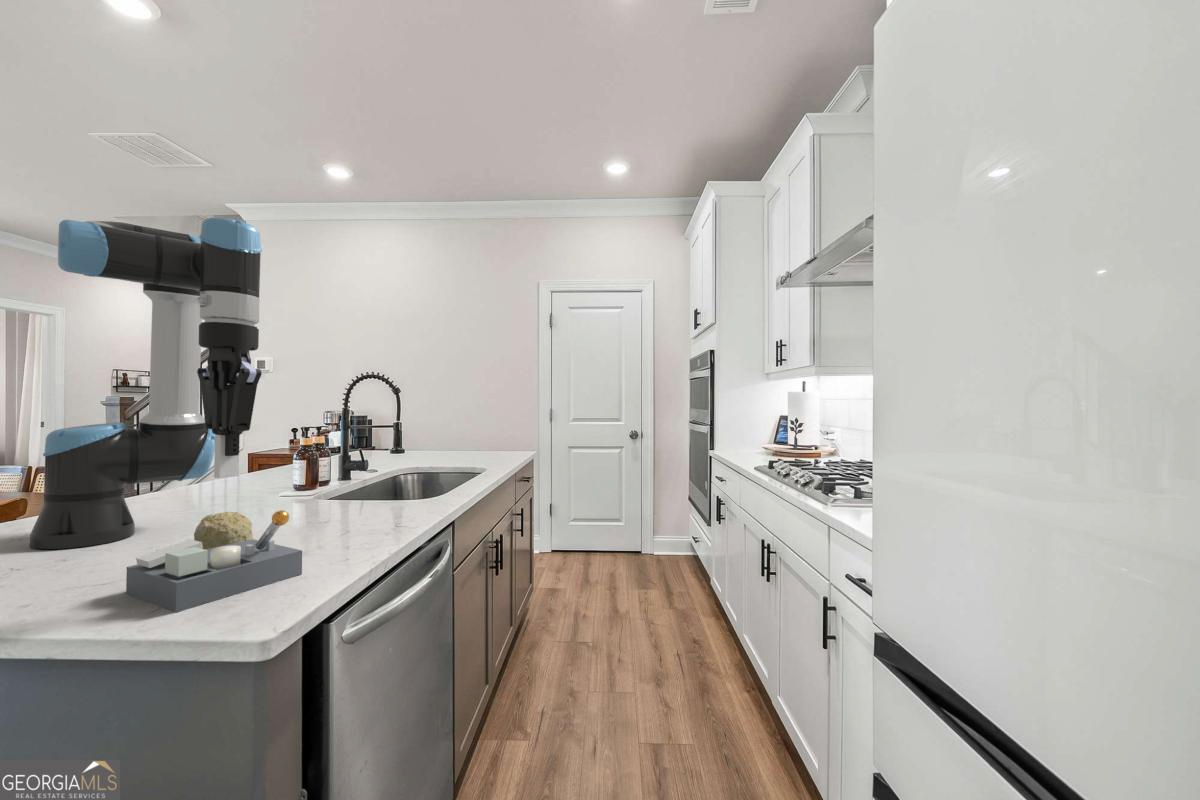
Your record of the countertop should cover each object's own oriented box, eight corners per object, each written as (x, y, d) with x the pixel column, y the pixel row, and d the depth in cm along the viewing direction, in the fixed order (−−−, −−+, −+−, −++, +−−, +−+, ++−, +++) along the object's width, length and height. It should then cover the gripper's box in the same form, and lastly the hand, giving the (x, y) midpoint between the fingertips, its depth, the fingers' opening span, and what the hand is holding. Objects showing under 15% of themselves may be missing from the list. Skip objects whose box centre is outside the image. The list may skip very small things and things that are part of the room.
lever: (249, 541, 86) (273, 508, 83) (264, 538, 88) (288, 506, 85) (255, 553, 85) (279, 520, 82) (270, 550, 87) (294, 517, 84)
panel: (126, 593, 78) (126, 554, 78) (252, 561, 94) (252, 529, 94) (176, 612, 72) (176, 569, 72) (301, 574, 88) (302, 539, 88)
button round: (204, 569, 80) (204, 550, 80) (231, 563, 83) (231, 544, 83) (218, 574, 78) (219, 553, 78) (245, 567, 81) (246, 547, 81)
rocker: (137, 564, 78) (135, 558, 78) (190, 544, 84) (189, 539, 84) (149, 568, 76) (148, 561, 76) (203, 548, 82) (201, 542, 82)
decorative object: (251, 564, 103) (236, 519, 106) (268, 544, 98) (251, 497, 101) (195, 581, 96) (180, 532, 98) (209, 561, 90) (193, 509, 93)
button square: (165, 572, 75) (165, 552, 75) (193, 565, 78) (194, 546, 78) (178, 576, 73) (178, 556, 73) (207, 569, 77) (207, 550, 77)
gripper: (178, 321, 80) (175, 475, 80) (227, 318, 74) (224, 484, 74) (231, 327, 87) (228, 470, 87) (280, 325, 81) (276, 477, 81)
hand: (226, 476), depth 81 cm, fingers closed
